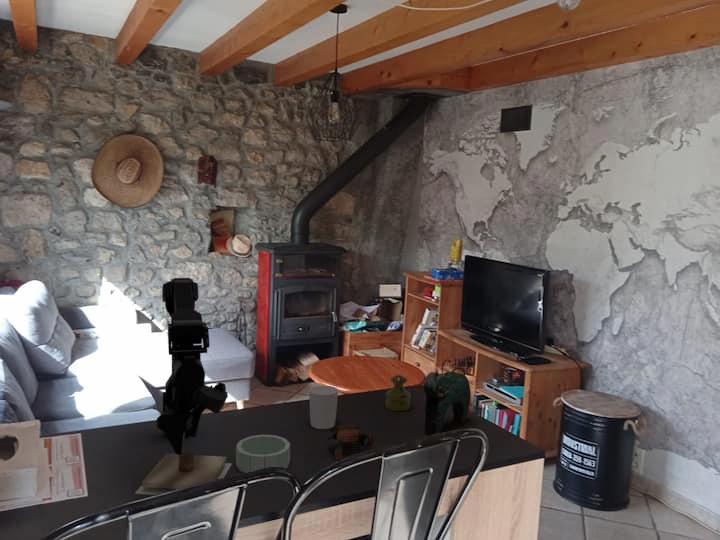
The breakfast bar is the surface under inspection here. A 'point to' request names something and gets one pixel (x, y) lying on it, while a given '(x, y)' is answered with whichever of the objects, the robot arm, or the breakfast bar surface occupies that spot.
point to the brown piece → (350, 440)
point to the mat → (161, 490)
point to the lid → (184, 470)
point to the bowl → (262, 453)
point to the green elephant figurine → (445, 398)
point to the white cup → (323, 406)
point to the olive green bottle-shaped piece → (398, 395)
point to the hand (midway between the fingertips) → (186, 445)
